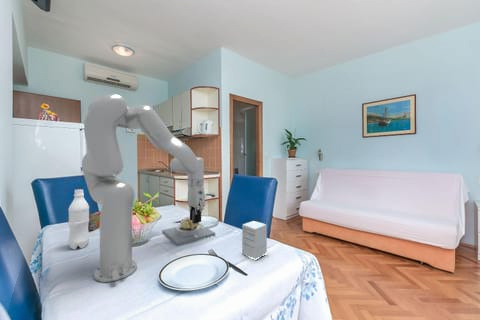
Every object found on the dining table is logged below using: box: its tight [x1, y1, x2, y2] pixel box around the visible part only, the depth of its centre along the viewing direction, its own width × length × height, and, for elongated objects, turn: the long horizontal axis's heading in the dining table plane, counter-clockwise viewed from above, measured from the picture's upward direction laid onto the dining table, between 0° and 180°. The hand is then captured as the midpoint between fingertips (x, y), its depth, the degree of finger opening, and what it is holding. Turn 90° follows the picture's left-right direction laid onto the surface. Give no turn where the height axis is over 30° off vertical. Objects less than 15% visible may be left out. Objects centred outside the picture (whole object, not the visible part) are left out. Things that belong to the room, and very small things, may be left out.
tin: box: [88, 210, 101, 231], centre depth 114 cm, size 15×3×8 cm, turn 179°
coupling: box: [181, 208, 200, 231], centre depth 103 cm, size 14×7×12 cm, turn 38°
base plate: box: [161, 223, 216, 247], centre depth 105 cm, size 20×20×4 cm
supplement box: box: [241, 220, 268, 259], centre depth 83 cm, size 7×7×13 cm
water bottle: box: [67, 188, 90, 250], centre depth 89 cm, size 7×7×25 cm
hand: (195, 220), depth 99 cm, fingers open, 4 cm apart
